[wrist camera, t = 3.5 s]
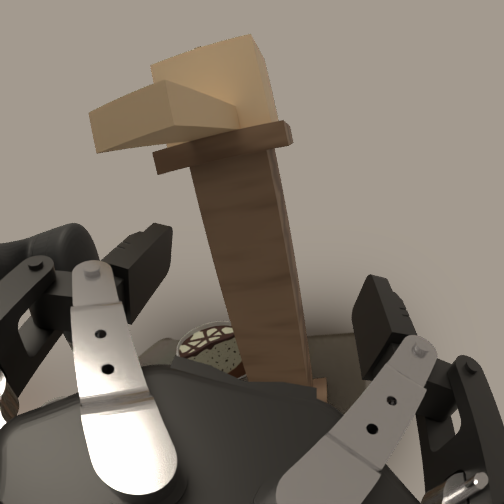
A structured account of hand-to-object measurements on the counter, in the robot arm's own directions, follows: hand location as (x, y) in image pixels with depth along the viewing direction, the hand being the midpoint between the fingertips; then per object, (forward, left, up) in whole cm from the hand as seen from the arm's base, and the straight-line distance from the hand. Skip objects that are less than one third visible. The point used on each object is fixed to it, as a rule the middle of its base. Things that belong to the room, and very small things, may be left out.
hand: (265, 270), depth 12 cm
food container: (-29, +15, -32) cm, 46 cm away
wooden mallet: (-10, +8, +6) cm, 14 cm away
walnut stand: (-13, +14, -32) cm, 37 cm away
